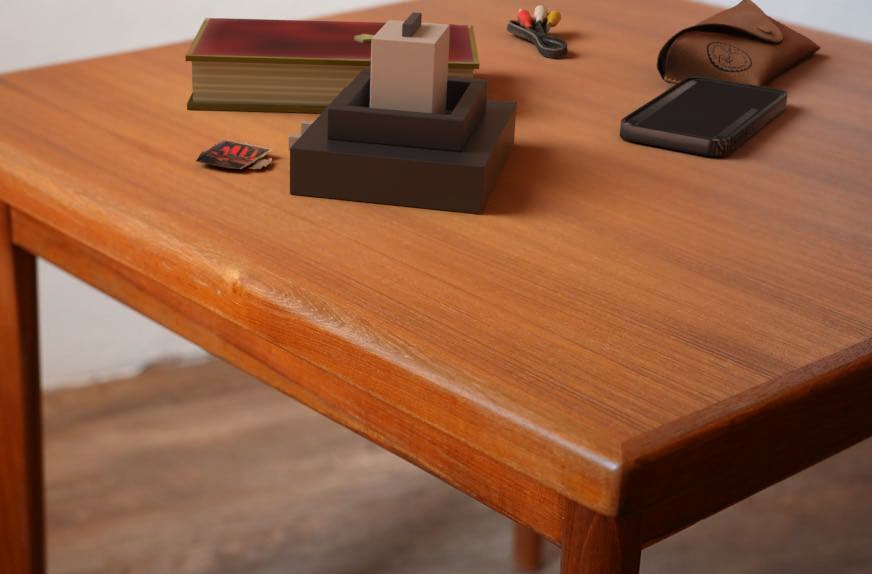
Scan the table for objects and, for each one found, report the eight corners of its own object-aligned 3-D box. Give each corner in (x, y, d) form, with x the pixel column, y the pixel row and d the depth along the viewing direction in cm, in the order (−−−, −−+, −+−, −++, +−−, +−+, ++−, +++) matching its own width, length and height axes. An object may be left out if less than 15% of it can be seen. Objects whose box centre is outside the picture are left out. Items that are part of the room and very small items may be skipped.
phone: (615, 122, 100) (691, 74, 111) (614, 138, 100) (689, 88, 111) (726, 143, 96) (793, 90, 107) (724, 159, 96) (791, 105, 108)
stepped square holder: (513, 144, 99) (519, 72, 97) (481, 214, 87) (486, 134, 85) (322, 126, 102) (323, 56, 100) (264, 191, 90) (264, 113, 88)
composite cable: (571, 59, 119) (574, 29, 118) (513, 58, 119) (516, 28, 118) (557, 30, 128) (559, 2, 127) (503, 29, 128) (505, 1, 127)
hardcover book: (207, 65, 116) (206, 13, 114) (469, 72, 115) (472, 20, 113) (187, 109, 105) (185, 51, 103) (476, 117, 104) (479, 60, 102)
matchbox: (191, 167, 93) (191, 160, 93) (215, 143, 98) (215, 136, 97) (261, 174, 92) (261, 166, 92) (282, 149, 97) (282, 142, 97)
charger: (445, 115, 95) (451, 11, 91) (431, 138, 90) (436, 30, 87) (385, 110, 95) (389, 7, 92) (368, 132, 91) (371, 25, 88)
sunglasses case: (762, 92, 108) (728, 9, 107) (678, 125, 112) (645, 46, 112) (825, 47, 122) (795, -27, 121) (748, 78, 126) (719, 7, 125)
